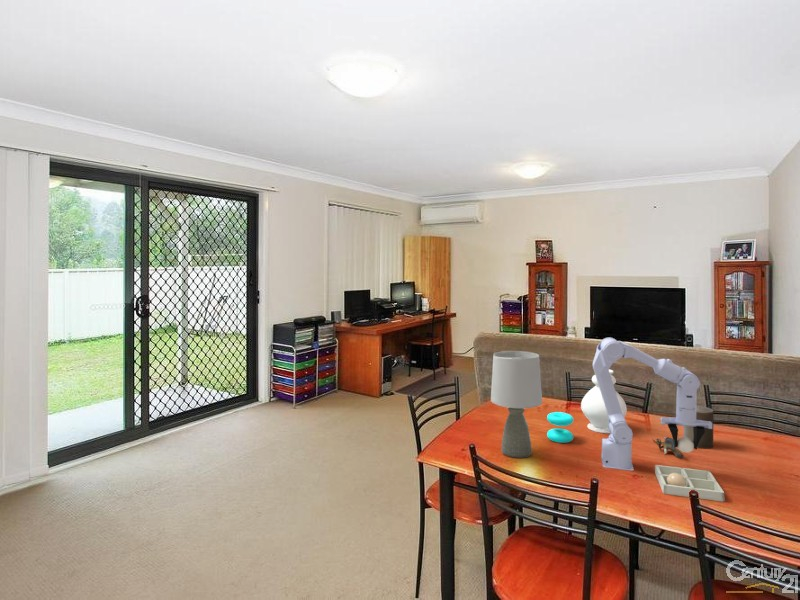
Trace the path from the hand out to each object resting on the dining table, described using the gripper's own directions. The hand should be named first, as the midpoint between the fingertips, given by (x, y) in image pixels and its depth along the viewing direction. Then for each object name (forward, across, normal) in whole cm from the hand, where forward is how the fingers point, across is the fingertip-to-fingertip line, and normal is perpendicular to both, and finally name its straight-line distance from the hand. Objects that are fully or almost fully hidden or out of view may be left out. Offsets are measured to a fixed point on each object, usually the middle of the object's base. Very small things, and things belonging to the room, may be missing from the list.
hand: (685, 447), depth 153 cm
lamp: (+8, +55, +1) cm, 56 cm away
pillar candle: (+8, -10, -29) cm, 32 cm away
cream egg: (+2, 0, 0) cm, 2 cm away
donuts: (+8, +40, -18) cm, 45 cm away
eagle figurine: (+8, +2, -15) cm, 17 cm away
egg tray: (+8, +2, +13) cm, 15 cm away
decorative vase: (+8, +23, -37) cm, 44 cm away
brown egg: (+8, +6, +17) cm, 19 cm away
